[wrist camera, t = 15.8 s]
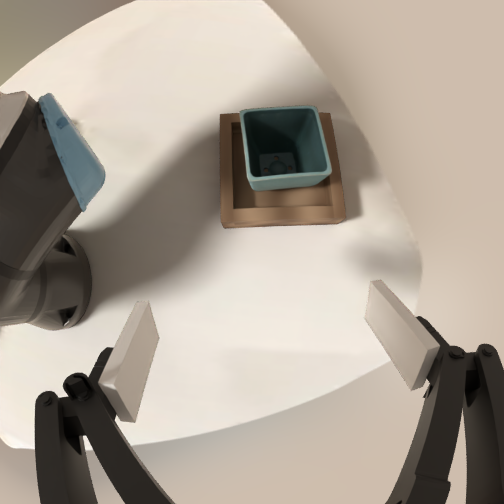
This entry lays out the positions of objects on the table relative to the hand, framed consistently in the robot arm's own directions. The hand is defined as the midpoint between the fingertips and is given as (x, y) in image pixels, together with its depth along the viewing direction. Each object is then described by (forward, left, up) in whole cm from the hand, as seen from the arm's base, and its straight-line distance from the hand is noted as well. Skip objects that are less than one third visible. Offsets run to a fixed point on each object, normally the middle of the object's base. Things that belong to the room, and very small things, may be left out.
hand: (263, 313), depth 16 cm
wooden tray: (+3, +16, -20) cm, 26 cm away
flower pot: (+3, +16, -19) cm, 26 cm away
